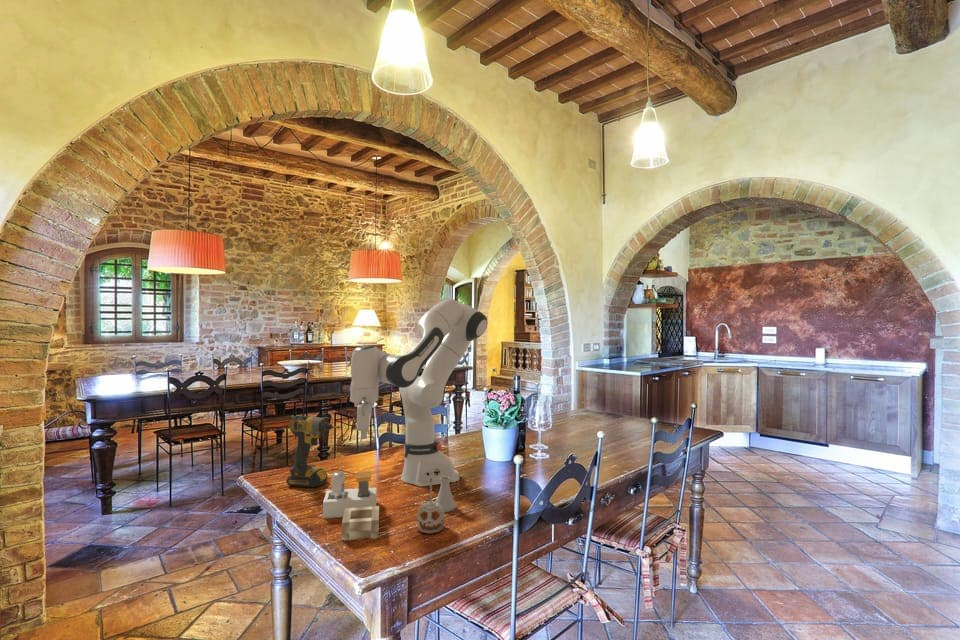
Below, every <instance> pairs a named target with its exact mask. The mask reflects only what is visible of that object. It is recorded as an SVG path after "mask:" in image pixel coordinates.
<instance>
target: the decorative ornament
mask: <svg viewBox="0 0 960 640" xmlns="http://www.w3.org/2000/svg"><path fill="white" fill-rule="evenodd" d="M435 502H436V500H435V501H433V485H432V478H430V485H429V501H426V502H424V503H423V504H421V505H420V506H419V508H418V510H417V512H416V522H418V523H417V525H416V529H418V530H417V531H419V532H421V533H425V534H434V533H438V532H440V531H442V530H443V529H444V528H445V523H443V522H444V521H445V512H444V511H443V509H442V507H441V505H439V503H435Z"/></svg>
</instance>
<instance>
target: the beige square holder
mask: <svg viewBox="0 0 960 640" xmlns="http://www.w3.org/2000/svg"><path fill="white" fill-rule="evenodd" d="M341 520H342V522H341V541H343V540H344V541H353V540H356V541H357V540H364V538H369V539H378V538H379V537H380V536H379V535H380V533H379V531H380V529H379V527H380V505H376V506H372V507H358V508H345V510H344V515H343V517H342V519H341Z"/></svg>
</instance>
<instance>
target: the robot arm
mask: <svg viewBox="0 0 960 640" xmlns="http://www.w3.org/2000/svg"><path fill="white" fill-rule="evenodd" d="M416 324H417V325H416V330H417V333H418V335H419V336H420V338H421V339H420V340H419V342H417V344H416V345H415V346H414V347H413V348H412V349H411V351H410V352H408V353H406V354H403V355H395V354H391V353H388V352H385V351H383V350H382V349H380V348H378V347H377V345H375V344H367V345H365V344H364V345H360V346H359V345H358V346H357V347H356V348H354V349H353V351H352V352H351V353H352V354H351V358H350V376H351V382H350V388H349V389H350V391H349V394H350V398H349V401H350V402H352V403H353V404H354V407H355V408H356V410H357V411H356V429H357V431H360V434H361V435H360V438H361V440H367V438H368V431H369V430H370V425H371V417H372V411H373V410H372V409H373V407H375V402H378V401H379V384H380V383H381V382H382V383H385V384H388V385H393V386H395V387H397V388H399V389H398V390H399V394H400V396H401V401H402V407H403V415H404V420H405V441H404V444H403V455H404V464H403V468H402V474H401V477H400V480H401V481H402V482H404V483H406V484H411V485H415V486H417V487H427V486H429V487H430V478H432V486H434V485H441V480H440V478H441V477H444V476H445V477H450V480H449V484H451V483H457V482H458V481H460V473H459V472H458V470H456V469H455V468H454V463H453V461H452V459H451V458H450V457H449V456H448V455H446V454H445V453H443V451H441V450H442V448H443V447H442V444H441V443H440V442H438V441H437V440H435V420H434V417H433V415H432V410H431V409H435V408H437V407H439V406H440V404H442V403H443V399H444V391H445V387H446V384H447V382H448V380H449V377H450V375H451V374H453V373H452V372H453V371H454V370H455V368H456V366H457V365H458V364H459V362H460V361H461V360H462V358H463V356H464V355H465V353H466V352H467V349H468V348H469V346H470V343H471V342H472V341H474V340H475V339H476V340H477V339H478V338H479V337H481V336H482V335H484V333H485V332H486V330H487V327H488V318H487V316H486V315H485V314H484V313H483V312H481V311H478V310H477V309H475V308H474V307H472V306H470V305H468V304H466V303H463V302H460V301H457V300H455V299H453V298H450V297H449V298H444V299H442V300H440V301H439V302H438V303H437V304H435V305H433V306H432V307H431V308H430V309H429V310H427V311H426V312H425V313H423V315H422V316H421V317H420V318H419V319H418V321H417V323H416ZM424 366H425V367H424ZM423 368H424V369H423ZM422 369H423V371H422V374H421V375H420V376H419V374H420V373H421V370H422ZM456 481H457V482H456ZM450 482H451V483H450Z"/></svg>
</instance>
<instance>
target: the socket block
mask: <svg viewBox="0 0 960 640" xmlns="http://www.w3.org/2000/svg"><path fill="white" fill-rule="evenodd" d="M377 490H378V489H377V486H376V487H369V495H368V497H359V487H358V488H347V489H346V488H345V498H343V499H332V489H327V490H326V492H325V495H324V498H323V502H322V519H333V518H343V515H344V510H345V508H358V507H372V506H377V497H378V496H377V495H378V494H377V492H378V491H377Z"/></svg>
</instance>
